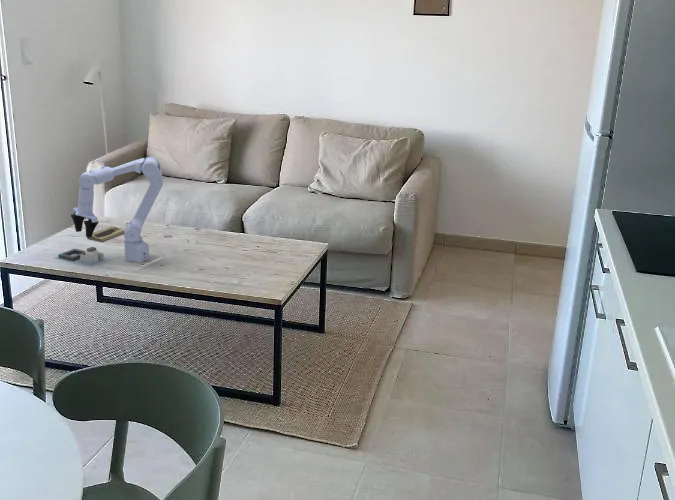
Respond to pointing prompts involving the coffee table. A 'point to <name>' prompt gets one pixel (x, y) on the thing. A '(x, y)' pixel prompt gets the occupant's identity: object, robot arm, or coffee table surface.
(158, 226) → the coffee table surface
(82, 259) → the plate with twin rails
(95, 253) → the plug
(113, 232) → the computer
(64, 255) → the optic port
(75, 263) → the panel board
